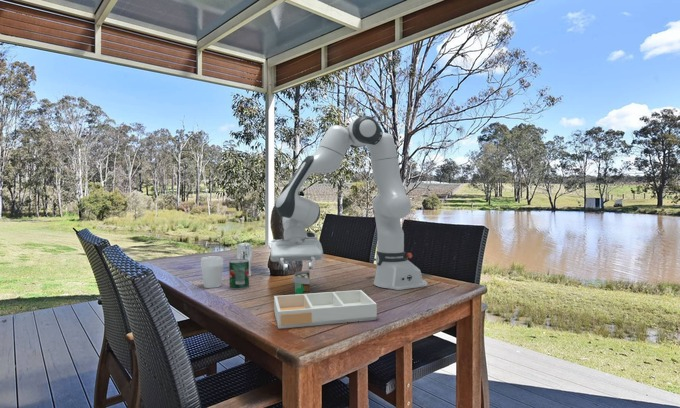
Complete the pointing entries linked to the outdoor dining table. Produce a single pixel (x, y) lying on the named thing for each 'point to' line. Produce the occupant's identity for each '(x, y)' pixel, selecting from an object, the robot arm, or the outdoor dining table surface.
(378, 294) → the outdoor dining table surface
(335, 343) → the outdoor dining table surface
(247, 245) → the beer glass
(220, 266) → the cup
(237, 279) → the canned tomato
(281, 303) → the tray
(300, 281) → the food container
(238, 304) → the outdoor dining table surface
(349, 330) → the outdoor dining table surface
